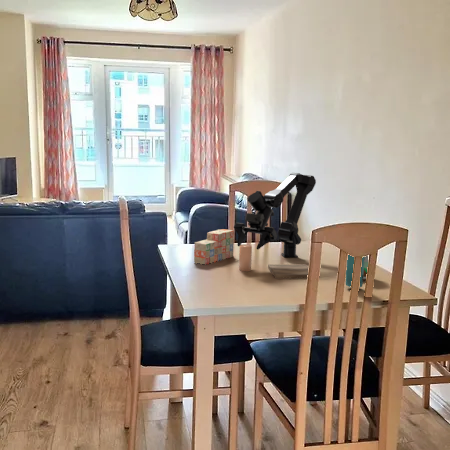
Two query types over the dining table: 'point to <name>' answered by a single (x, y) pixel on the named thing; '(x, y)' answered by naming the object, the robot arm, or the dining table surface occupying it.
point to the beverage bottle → (350, 271)
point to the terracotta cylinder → (245, 257)
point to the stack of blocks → (214, 247)
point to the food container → (365, 267)
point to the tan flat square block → (289, 270)
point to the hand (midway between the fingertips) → (247, 247)
